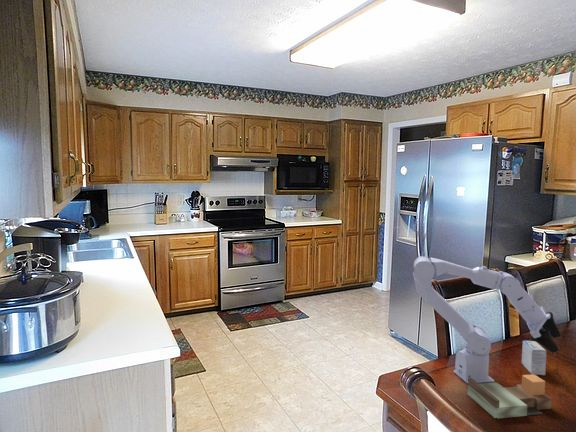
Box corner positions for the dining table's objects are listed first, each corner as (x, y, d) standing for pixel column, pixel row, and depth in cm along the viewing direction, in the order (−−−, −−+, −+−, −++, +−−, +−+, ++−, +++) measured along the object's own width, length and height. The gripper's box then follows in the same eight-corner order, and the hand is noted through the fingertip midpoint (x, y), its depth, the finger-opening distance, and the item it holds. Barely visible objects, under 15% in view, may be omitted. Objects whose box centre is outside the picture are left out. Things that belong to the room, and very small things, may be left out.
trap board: (495, 418, 100) (496, 400, 100) (467, 394, 112) (468, 378, 112) (557, 412, 103) (558, 395, 103) (523, 389, 115) (524, 373, 115)
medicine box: (545, 376, 123) (547, 350, 123) (530, 374, 124) (532, 349, 124) (534, 364, 131) (536, 341, 130) (520, 363, 132) (522, 339, 131)
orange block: (532, 395, 106) (532, 382, 106) (521, 388, 110) (522, 375, 110) (544, 394, 107) (545, 381, 106) (533, 387, 111) (534, 374, 110)
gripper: (536, 315, 108) (568, 354, 107) (542, 291, 119) (571, 326, 117) (513, 323, 113) (543, 360, 112) (520, 299, 124) (548, 333, 122)
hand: (556, 343), depth 115 cm, fingers open, 7 cm apart
